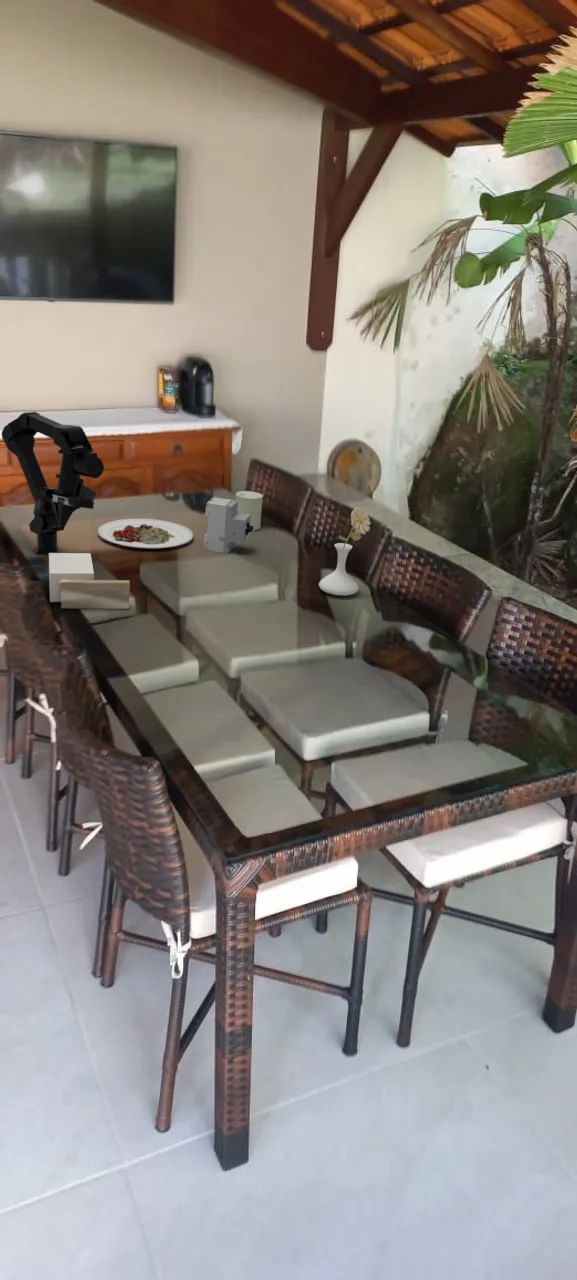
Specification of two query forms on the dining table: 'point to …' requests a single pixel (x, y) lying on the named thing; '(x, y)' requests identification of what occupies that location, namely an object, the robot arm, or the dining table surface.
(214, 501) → the circuit breaker
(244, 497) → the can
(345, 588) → the flower in vase
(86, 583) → the board
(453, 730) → the dining table surface
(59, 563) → the box
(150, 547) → the plated food
